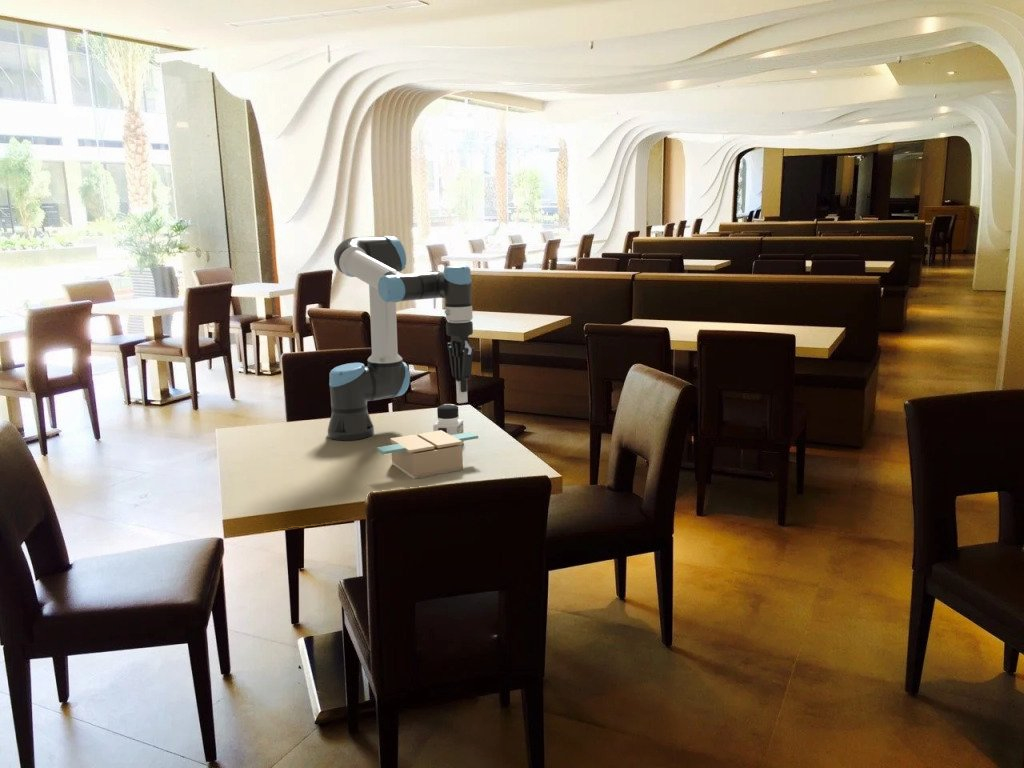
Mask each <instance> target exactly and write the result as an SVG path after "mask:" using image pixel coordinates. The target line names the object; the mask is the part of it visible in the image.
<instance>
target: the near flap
mask: <svg viewBox="0 0 1024 768" xmlns="http://www.w3.org/2000/svg"><path fill="white" fill-rule="evenodd" d="M389 441H390V443H391V442H393V443H394V445H391V444H389V445H384V446H377V447H376V451H377V452H379V453H380V454H382V455H383V456H384V455H388V454H392V453H395V452H401V451H407V452H408V453H413V452H419V451H424V450H430V449H435V447H434V445H432V444H430V443H428V442H427V441H425V440H423V439H421V438H420V437H418V435H416V434H410V435H408V434H407V435H404V436H396V437H391V438H389Z"/></svg>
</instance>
